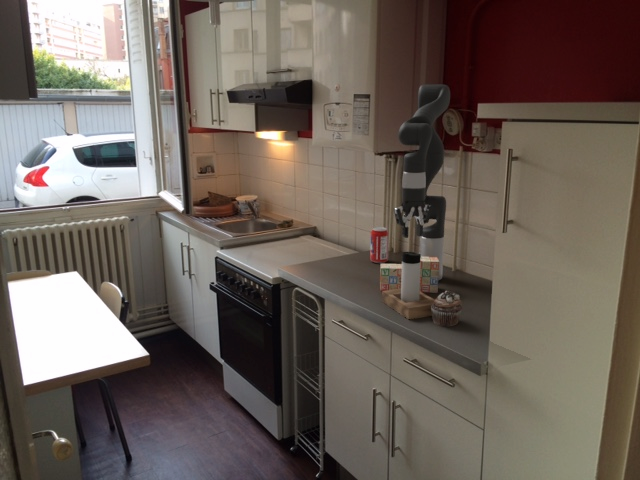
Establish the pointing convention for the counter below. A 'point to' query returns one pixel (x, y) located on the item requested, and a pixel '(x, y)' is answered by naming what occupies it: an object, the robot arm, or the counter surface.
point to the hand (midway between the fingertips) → (412, 236)
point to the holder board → (408, 304)
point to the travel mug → (410, 277)
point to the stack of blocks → (428, 275)
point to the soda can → (379, 245)
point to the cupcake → (446, 309)
